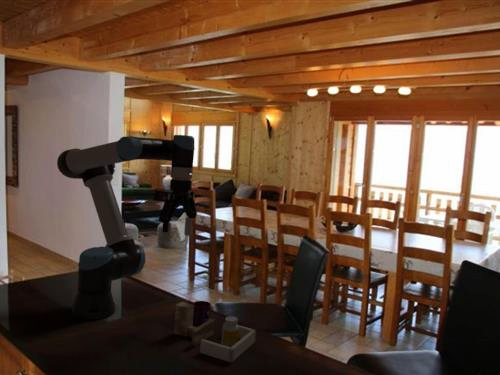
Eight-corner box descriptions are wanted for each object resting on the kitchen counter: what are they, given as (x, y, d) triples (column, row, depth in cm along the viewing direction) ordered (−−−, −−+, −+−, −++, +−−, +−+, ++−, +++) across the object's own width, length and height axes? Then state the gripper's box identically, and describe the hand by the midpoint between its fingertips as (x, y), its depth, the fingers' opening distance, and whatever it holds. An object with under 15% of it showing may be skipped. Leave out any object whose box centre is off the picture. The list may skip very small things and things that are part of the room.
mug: (201, 327, 155) (202, 308, 154) (180, 319, 160) (182, 301, 160) (213, 322, 160) (214, 304, 160) (193, 314, 166) (194, 297, 165)
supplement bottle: (218, 344, 142) (220, 316, 142) (234, 342, 144) (236, 314, 144) (224, 351, 137) (226, 322, 137) (239, 350, 140) (242, 321, 139)
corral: (199, 352, 136) (200, 340, 135) (226, 333, 151) (227, 322, 151) (231, 362, 131) (232, 350, 131) (255, 341, 147) (256, 330, 146)
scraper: (166, 337, 144) (168, 308, 143) (186, 325, 155) (188, 298, 154) (195, 346, 139) (197, 316, 139) (214, 333, 150) (216, 305, 149)
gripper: (169, 181, 140) (165, 245, 142) (208, 179, 163) (204, 234, 165) (150, 179, 143) (146, 242, 145) (191, 177, 166) (188, 231, 168)
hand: (177, 238), depth 155 cm, fingers open, 13 cm apart
